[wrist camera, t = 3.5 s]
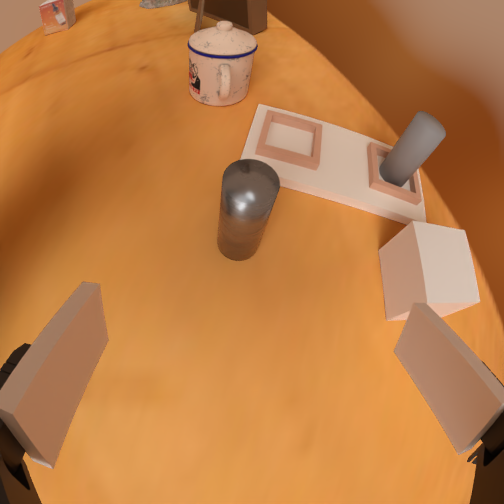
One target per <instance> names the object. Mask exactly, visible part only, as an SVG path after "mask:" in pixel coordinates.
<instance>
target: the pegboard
mask: <svg viewBox="0 0 504 504" xmlns="http://www.w3.org/2000/svg"><path fill="white" fill-rule="evenodd" d="M445 136H446V132H445V129H444V128H443V126H442V125H441V123H440V122H439V121H438V120H437V119H435V118H434V117H433V116H432V115H430V114H428V113H426V112H424V111H419V112H418V113H417V114H416V116H415V117H414V119H413V120H412V121H411V123H410V124H409V126H408V127H407V128H406V130H405V131H404V133H403V134H402V136H401V137H400V139H399V140H398V141H397V143H396V144H395V146H394V147H393V146H390V145H388V144H385V143H383V142H380V141H378V140H375V139H373V138H370V137H367V136H365V135H362V134H359V133H356V132H354V131H351V130H348V129H345V128H342V127H339V126H336V125H333V124H330V123H327V122H324V121H321V120H318V119H314V118H311V117H308V116H304V115H301V114H297V113H293V112H290V111H286V110H282V109H278V108H274V107H270V106H266V105H262V104H259V105H258V108H257V110H256V113H255V116H254V119H253V122H252V125H251V128H250V131H249V134H248V137H247V140H246V143H245V147H244V150H243V153H242V156H241V159H240V160H242V159H255V160H259V161H262V162H264V163H266V164H268V165H269V166H271V167H272V168H273V169H274V170H275V172H276V173H277V175H278V177H279V180H280V186H282V187H286V188H289V189H293V190H297V191H300V192H304V193H307V194H311V195H314V196H318V197H321V198H325V199H328V200H332V201H335V202H338V203H341V204H345V205H348V206H351V207H354V208H358V209H361V210H364V211H367V212H370V213H373V214H376V215H379V216H382V217H385V218H388V219H391V220H394V221H397V222H400V223H403V224H405V225H408V224H409V223H410V222H411V221H418V222H424V223H427V222H426V213H425V206H424V199H423V192H422V186H421V180H420V175H419V169H418V168H419V167H420V166H421V165H422V163H423V162H424V161H425V160H426V159H427V158H428V156H429V155H430V154H431V153H432V152H433V150H434V149H435V148H436V147H437V146H438V144H439V143H440V142H441V141H442V140H443V138H444V137H445Z"/></svg>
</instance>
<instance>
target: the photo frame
mask: <svg viewBox="0 0 504 504" xmlns="http://www.w3.org/2000/svg"><path fill="white" fill-rule="evenodd" d="M188 4H189V9H190V11H193V12H196V13H197V17H196V23H195V29H194V32H197V31H200V27H201V23H202V17H203V15H204V16H207V17H210V18H212V19H215V20H217V21H229V22H231V23H232V25H233V26H232V27H235V28H237V29H240V30H243V31H245V32H248V33H249V34H251V35H254V34H256V33H258V32H260V31H262V30H264V29H266V28H267V0H188Z"/></svg>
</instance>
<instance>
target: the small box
mask: <svg viewBox="0 0 504 504" xmlns="http://www.w3.org/2000/svg"><path fill="white" fill-rule="evenodd" d="M39 8H40V14H41V19H42V23H43V28H44V33H45V35H48V34H51V33H55V32H59V31H63V30H68V29H69V28H70V27H71V26H72V25H73V24H74V23H75V22H76V18H75V11H74V4H73V0H47V1H46V2H44V3H43V4H42V5H40V6H39Z"/></svg>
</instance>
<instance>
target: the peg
mask: <svg viewBox="0 0 504 504" xmlns="http://www.w3.org/2000/svg"><path fill="white" fill-rule="evenodd" d="M279 188H280V180H279V177H278V175H277V173H276V172H275V170H274V169H273V168H272V167H271V166H269V165H268V164H266V163H264V162H262V161H259V160H255V159H242V160H238V161H236V162H234V163H232V164H231V165H229V166H228V167H227V168H226V170H225V172H224V174H223V181H222V192H221V204H220V216H219V228H218V247H219V250H220V251H221V253H222V254H223V255H224V256H225V257H227V258H229V259H231V260H235V261H242V260H246V259H248V258H250V257H251V256H253V255H254V253H255V252H256V250H257V248H258V245H259V242H260V240H261V237H262V234H263V232H264V229H265V226H266V224H267V221H268V218H269V215H270V213H271V210H272V207H273V205H274V202H275V199H276V197H277V194H278V191H279Z"/></svg>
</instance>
